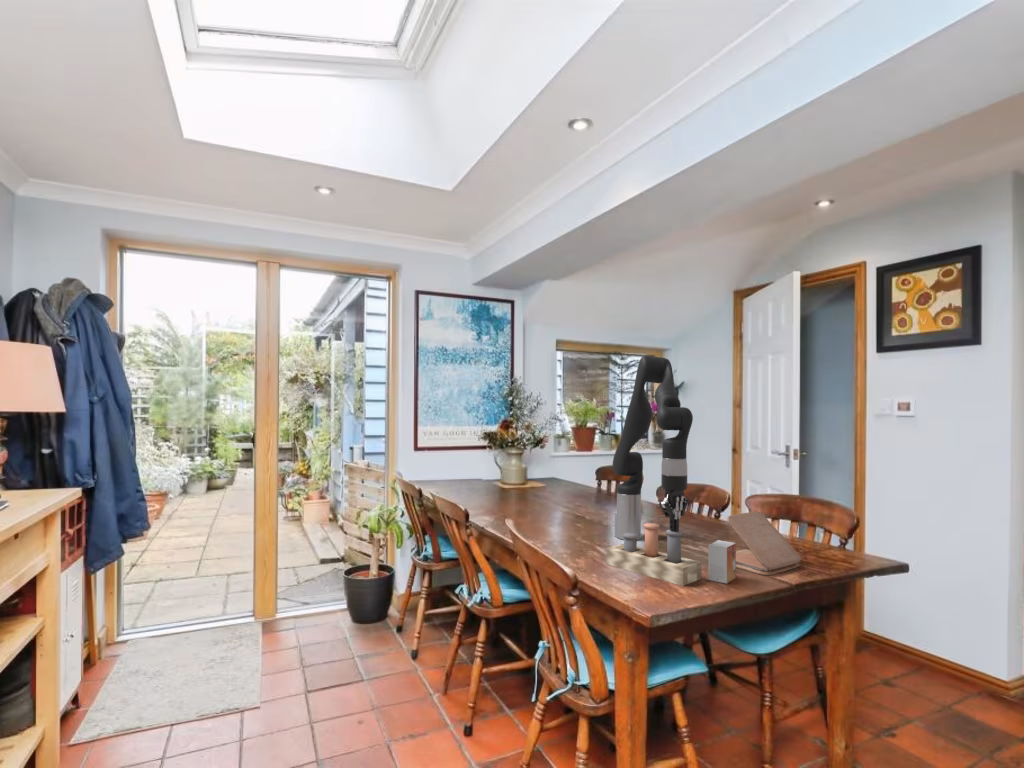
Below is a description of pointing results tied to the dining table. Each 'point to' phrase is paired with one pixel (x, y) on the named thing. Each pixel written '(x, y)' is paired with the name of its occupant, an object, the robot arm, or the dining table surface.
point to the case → (762, 545)
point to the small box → (722, 561)
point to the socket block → (654, 565)
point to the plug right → (674, 546)
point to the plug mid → (651, 539)
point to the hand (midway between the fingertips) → (674, 531)
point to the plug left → (630, 542)
